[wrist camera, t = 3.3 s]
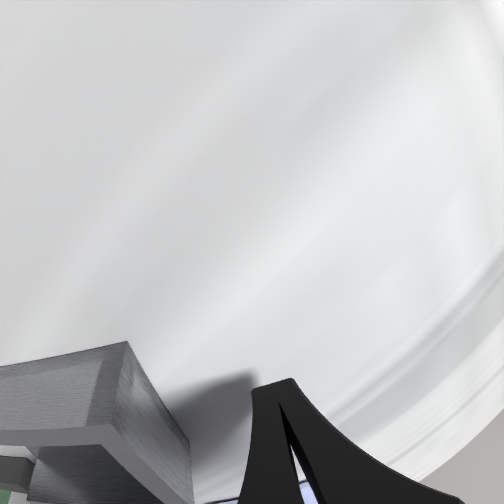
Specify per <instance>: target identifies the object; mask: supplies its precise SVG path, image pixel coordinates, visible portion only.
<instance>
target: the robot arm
mask: <svg viewBox="0 0 504 504" xmlns="http://www.w3.org/2000/svg"><path fill="white" fill-rule="evenodd" d="M251 394H252V405H253V417H252V432H251V442H250V450H249V455H248V461H247V467H246V472H245V476H244V481H243V485H242V488H241V492H240V496H239V499H238V500H234V501H229V502H223V503H217V504H465V503H464V502H463V501H461V500H460V499H459V498H457V497H455V496H452V495H448V494H446V493H443V492H440V491H437V490H435V489H432V488H430V487H427V486H425V485H422V484H420V483H418V482H416V481H414V480H412V479H410V478H408V477H406V476H404V475H402V474H400V473H398V472H396V471H395V470H393V469H391V468H389V467H387V466H386V465H384V464H383V463H381V462H379V461H378V460H376V459H375V458H373V457H372V456H370V455H369V454H367V453H366V452H365V451H363V450H362V449H360V448H359V447H358V446H357V445H355V444H354V443H353V442H351V441H350V440H349V439H348V438H347V437H346V436H344V435H343V434H342V433H341V432H340V431H339V430H337V429H336V428H335V427H334V426H333V425H332V424H331V423H330V422H329V421H328V420H327V419H326V418H325V417H324V416H323V415H322V414H321V413H320V412H319V411H318V410H317V409H316V408H315V406H314V405H313V404H312V403H311V402H310V401H309V399H308V398H307V397H306V396H305V395H304V393H303V392H302V391H301V389H300V388H299V386H298V385H297V383H296V382H295V380H294V379H292V378H288V379H285V380H281V381H278V382H275V383H271V384H268V385H265V386H261V387H258V388H254V389H253V390H252V391H251ZM290 444H291V445H290ZM291 446H292V449H293V451H294V453H295V455H296V457H297V459H298V462H299V464H300V466H301V468H302V470H303V472H304V474H305V477H306V479H307V481H308V482H305V483H302V484H299V480H298V476H297V472H296V467H295V463H294V458H293V454H292V449H291Z"/></svg>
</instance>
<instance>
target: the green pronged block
mask: <svg viewBox="0 0 504 504" xmlns="http://www.w3.org/2000/svg"><path fill="white" fill-rule="evenodd" d="M34 467H35V465H34V464H33V463H31V462H30V461H29V460H28V459H27V458H17V457H5V456H0V504H8V501H9V497H10V493H11V491H14V492H20V493H26V494H28V491H29V487H30V483H31V479H32V475H33V471H34Z"/></svg>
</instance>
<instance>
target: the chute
mask: <svg viewBox="0 0 504 504" xmlns="http://www.w3.org/2000/svg"><path fill="white" fill-rule="evenodd" d="M0 445H11V446H25V447H26V448H27V449H28V450H30V451H31V452H32V453H33V454H34V455H35V456H36V457H37V460H36V463H35V467H34V471H33V475H32V479H31V483H30V487H29V491H28V496H27V501H28V502H30V503H31V504H194V495H193V484H192V473H191V460H190V446H189V441H188V440H187V438H186V437H185V435H184V434H183V433H182V431H181V430H180V428H179V427H178V425H177V424H176V422H175V421H174V419H173V418H172V416H171V415H170V413H169V412H168V410H167V408H166V407H165V405H164V404H163V402H162V401H161V399H160V397H159V396H158V394H157V392H156V391H155V389H154V388H153V386H152V384H151V383H150V381H149V379H148V377H147V376H146V374H145V372H144V371H143V369H142V367H141V365H140V364H139V362H138V360H137V358H136V356H135V355H134V353H133V351H132V349H131V347H130V345H129V343H128V342H127V341H126V342H122V343H117V344H113V345H109V346H104V347H100V348H95V349H90V350H86V351H81V352H76V353H72V354H67V355H62V356H57V357H52V358H47V359H41V360H36V361H31V362H25V363H20V364H14V365H8V366H2V367H0Z"/></svg>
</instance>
